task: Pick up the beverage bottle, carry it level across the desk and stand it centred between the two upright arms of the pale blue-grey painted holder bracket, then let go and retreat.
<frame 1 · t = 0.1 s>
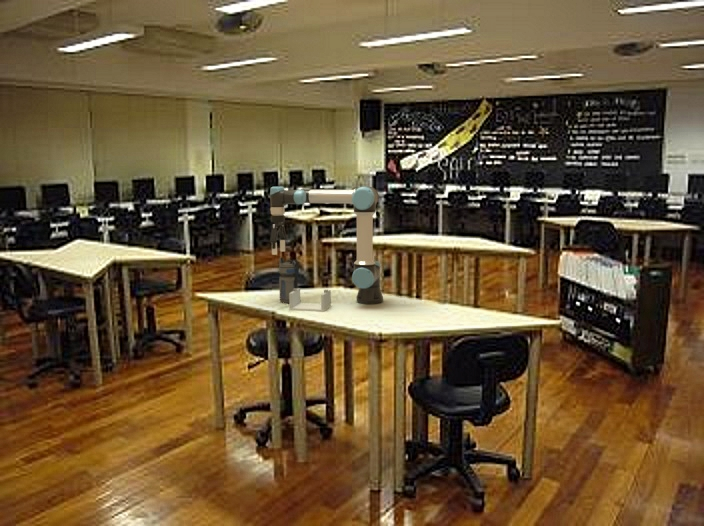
hand: (278, 253, 346), 28 cm above the table, fingers open, 13 cm apart
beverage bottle: (290, 302, 352), on the table
holder: (310, 307, 336), on the table
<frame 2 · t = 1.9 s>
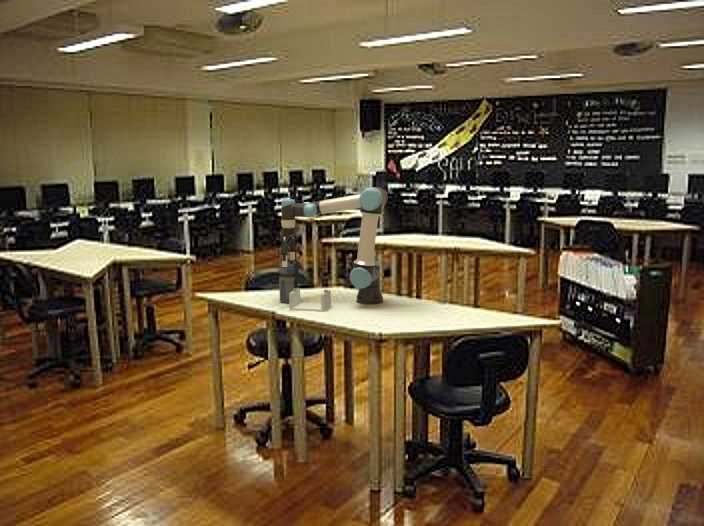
hand: (288, 265, 349), 21 cm above the table, fingers open, 13 cm apart
nothing on the table moved.
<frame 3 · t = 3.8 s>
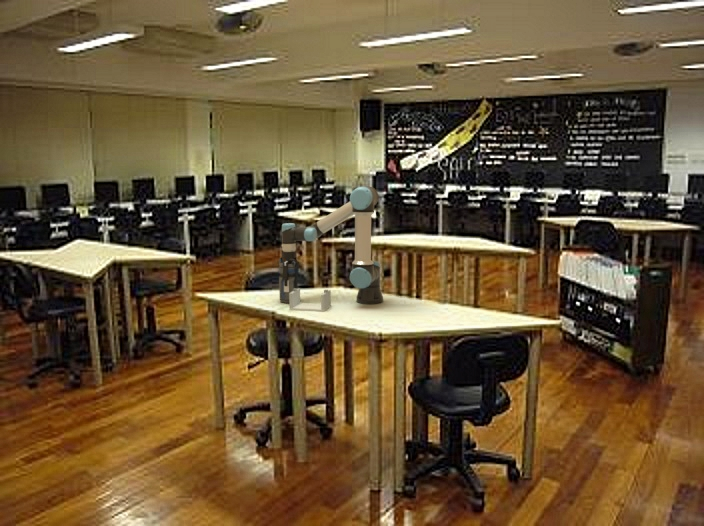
hand: (289, 290, 351), 7 cm above the table, fingers closed on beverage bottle, 10 cm apart
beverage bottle: (289, 302, 352), on the table, touching gripper
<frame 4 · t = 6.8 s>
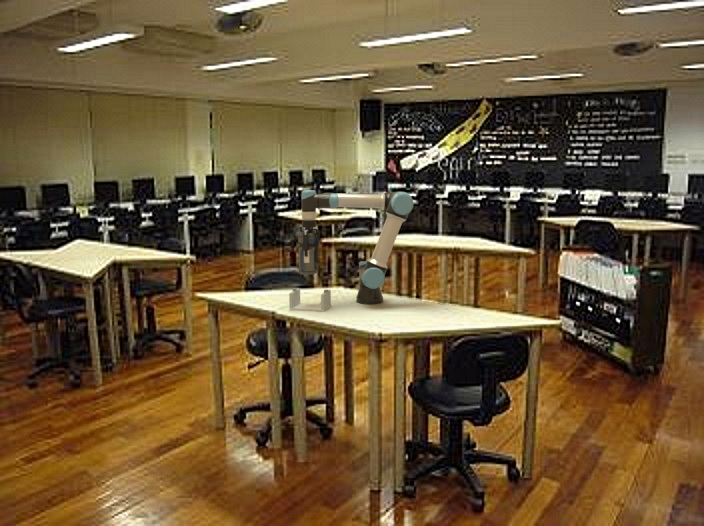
hand: (309, 261, 332), 26 cm above the table, fingers closed on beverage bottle, 10 cm apart
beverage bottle: (309, 274, 333), point 19 cm above the table, touching gripper
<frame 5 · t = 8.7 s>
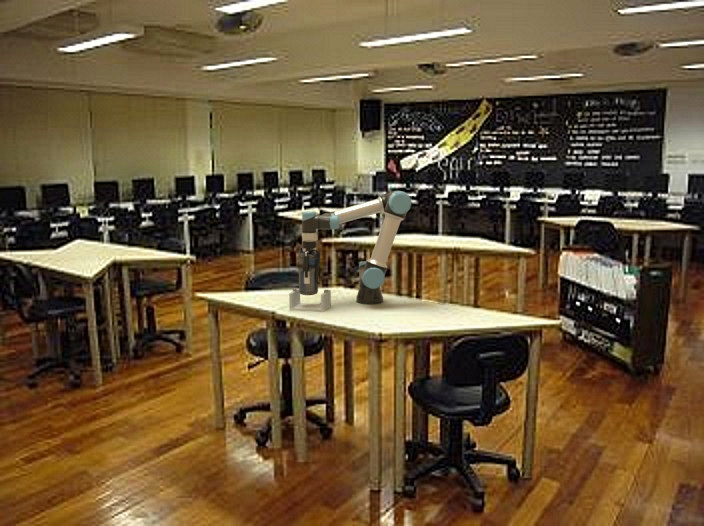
hand: (309, 281, 334), 14 cm above the table, fingers closed on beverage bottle, 10 cm apart
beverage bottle: (309, 294, 335), point 7 cm above the table, touching gripper
when the fingers open (10 cm above the table, at t = 10.2 s): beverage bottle drops 2 cm, point 1 cm above the table.
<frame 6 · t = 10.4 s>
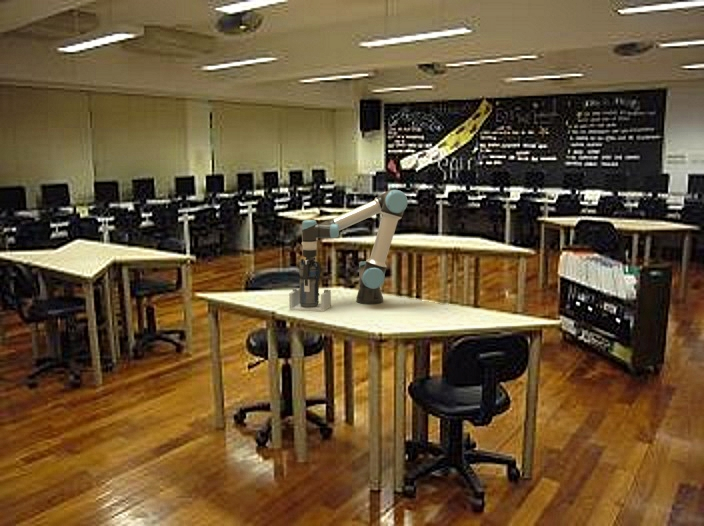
hand: (310, 289, 334), 10 cm above the table, fingers open, 11 cm apart
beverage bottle: (310, 306, 336), point 1 cm above the table, touching gripper
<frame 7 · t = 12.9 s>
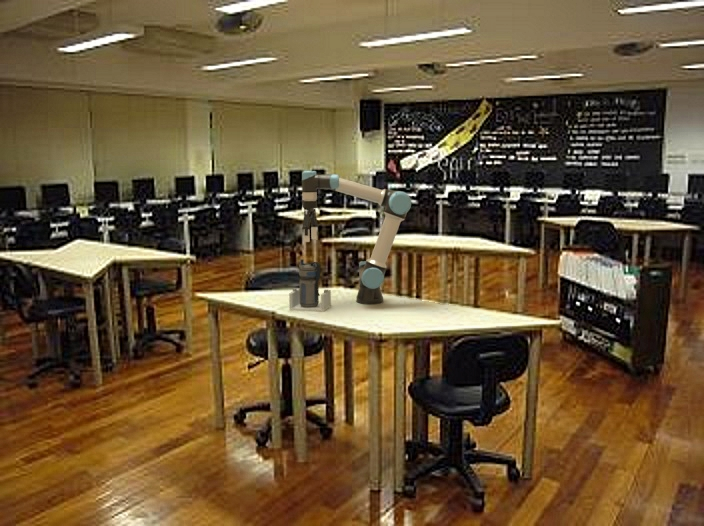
hand: (310, 240, 331), 37 cm above the table, fingers open, 13 cm apart
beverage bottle: (310, 306, 336), point 1 cm above the table, touching holder
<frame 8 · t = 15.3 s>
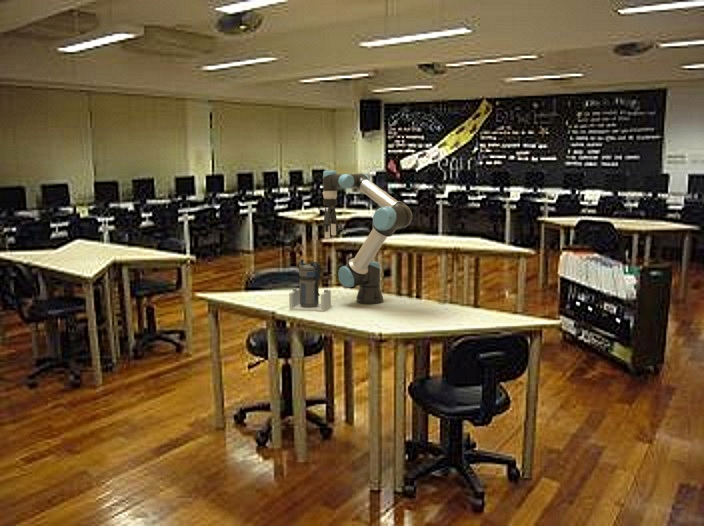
hand: (330, 236, 349), 37 cm above the table, fingers open, 13 cm apart
nothing on the table moved.
at the end: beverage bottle 0.1 cm from the holder (horizontally); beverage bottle tilted 0°; the gripper is holding nothing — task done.
